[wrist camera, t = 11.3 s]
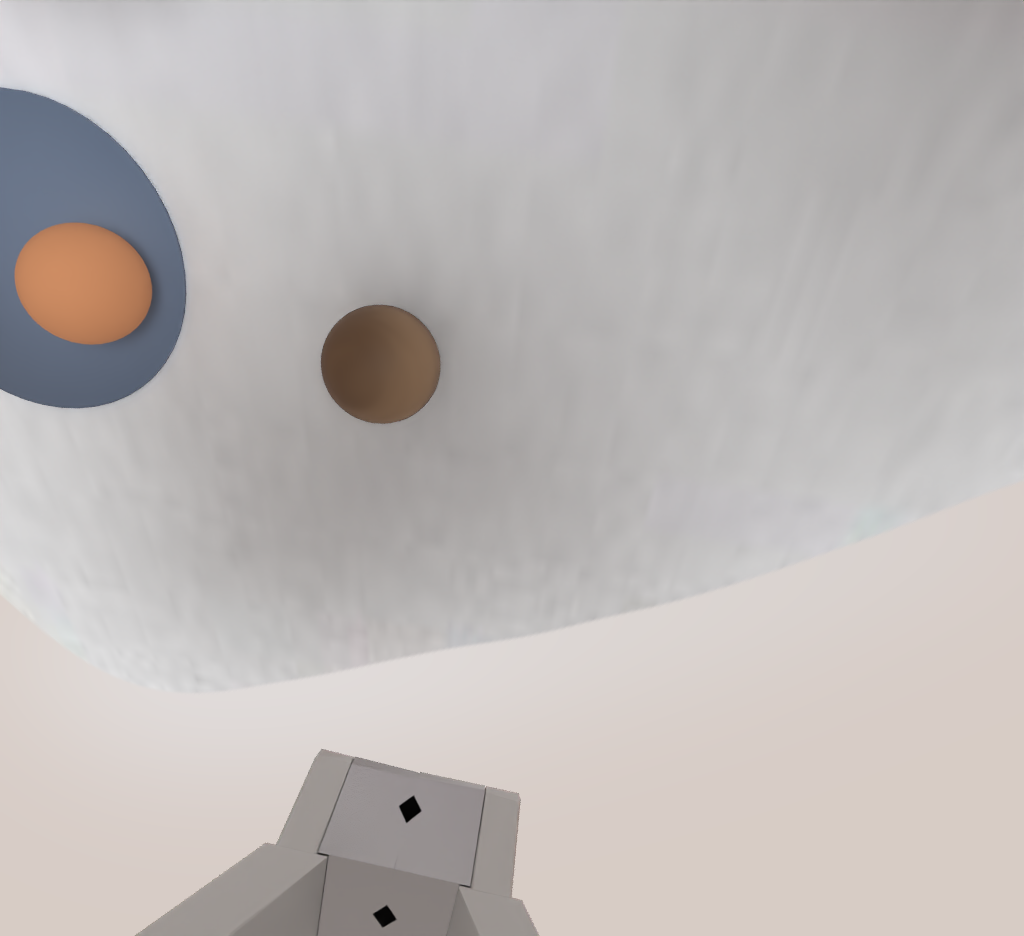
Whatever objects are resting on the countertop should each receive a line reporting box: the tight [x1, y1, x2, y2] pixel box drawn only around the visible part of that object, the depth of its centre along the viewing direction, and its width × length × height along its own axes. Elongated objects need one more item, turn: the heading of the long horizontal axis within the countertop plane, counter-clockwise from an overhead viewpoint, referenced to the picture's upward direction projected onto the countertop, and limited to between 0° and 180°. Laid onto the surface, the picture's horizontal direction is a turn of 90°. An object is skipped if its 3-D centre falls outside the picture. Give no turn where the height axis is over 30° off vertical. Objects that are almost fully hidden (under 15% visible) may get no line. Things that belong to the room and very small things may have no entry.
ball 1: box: [15, 222, 152, 345], centre depth 30 cm, size 5×5×5 cm
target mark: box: [0, 88, 186, 408], centre depth 33 cm, size 14×14×1 cm
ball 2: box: [321, 305, 440, 424], centre depth 31 cm, size 5×5×5 cm
